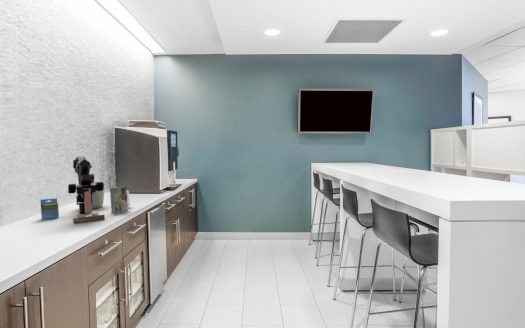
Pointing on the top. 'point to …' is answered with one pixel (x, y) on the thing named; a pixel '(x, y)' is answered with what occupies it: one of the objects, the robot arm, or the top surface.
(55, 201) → the label tape cartridge
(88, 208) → the dusty red block
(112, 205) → the coffee box
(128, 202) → the cylinder with rectangular tab
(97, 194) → the canister
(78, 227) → the top surface
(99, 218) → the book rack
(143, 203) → the top surface
